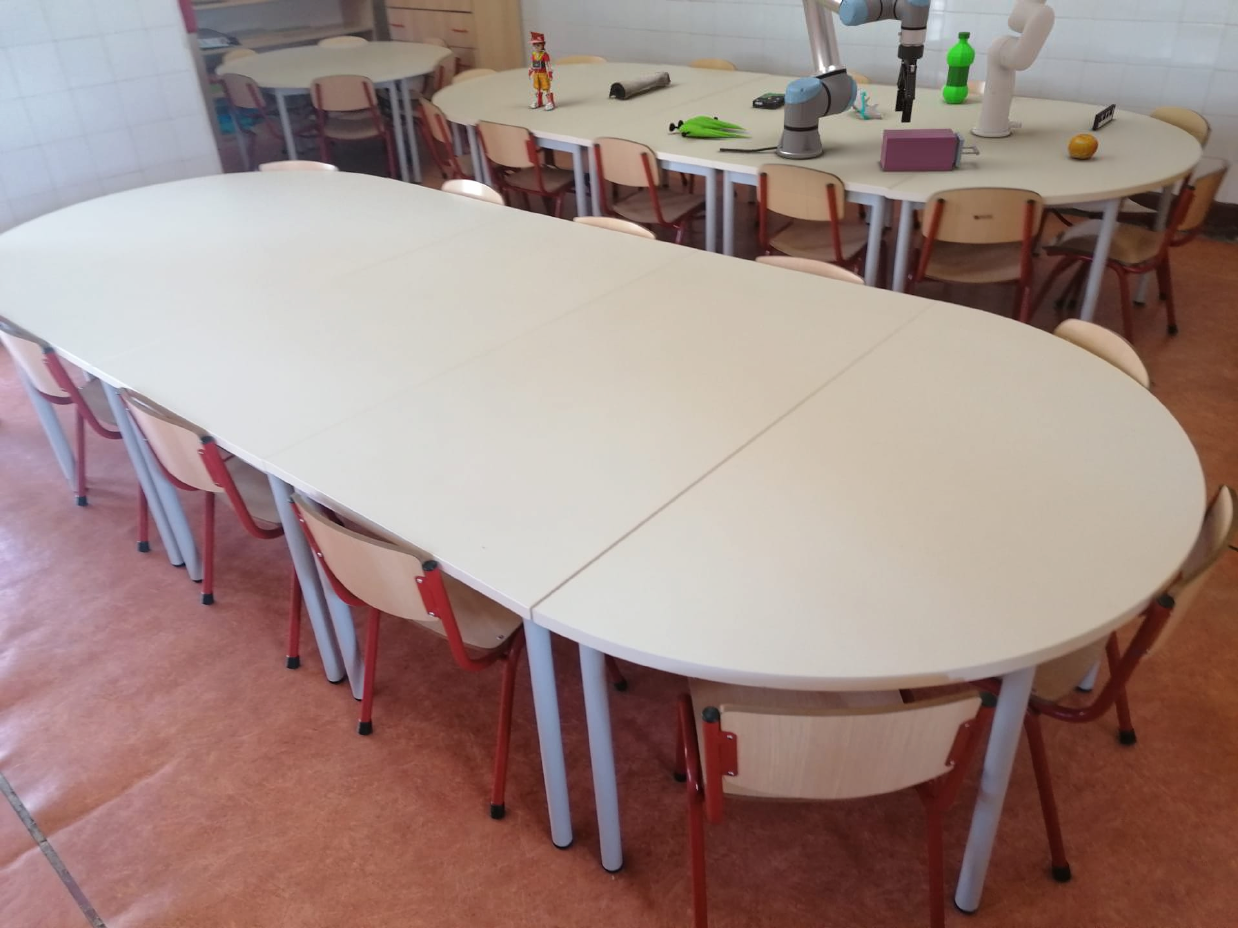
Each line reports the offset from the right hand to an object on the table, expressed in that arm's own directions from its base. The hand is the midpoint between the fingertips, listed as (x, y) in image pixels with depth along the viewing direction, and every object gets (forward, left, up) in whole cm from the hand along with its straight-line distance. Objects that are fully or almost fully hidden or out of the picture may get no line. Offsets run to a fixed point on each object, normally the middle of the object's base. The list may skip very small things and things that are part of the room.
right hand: (909, 73), depth 297 cm
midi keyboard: (-71, -26, -24) cm, 79 cm away
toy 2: (+67, -16, -24) cm, 73 cm away
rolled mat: (+105, -84, -24) cm, 137 cm away
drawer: (-9, +23, -23) cm, 34 cm away
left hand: (+3, +23, -8) cm, 25 cm away
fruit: (-55, +14, -24) cm, 62 cm away
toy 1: (+143, -58, -24) cm, 157 cm away
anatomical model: (+11, -42, -24) cm, 49 cm away
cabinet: (-3, +23, -24) cm, 33 cm away
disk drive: (+47, -60, -24) cm, 79 cm away
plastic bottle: (-25, -61, -24) cm, 69 cm away
